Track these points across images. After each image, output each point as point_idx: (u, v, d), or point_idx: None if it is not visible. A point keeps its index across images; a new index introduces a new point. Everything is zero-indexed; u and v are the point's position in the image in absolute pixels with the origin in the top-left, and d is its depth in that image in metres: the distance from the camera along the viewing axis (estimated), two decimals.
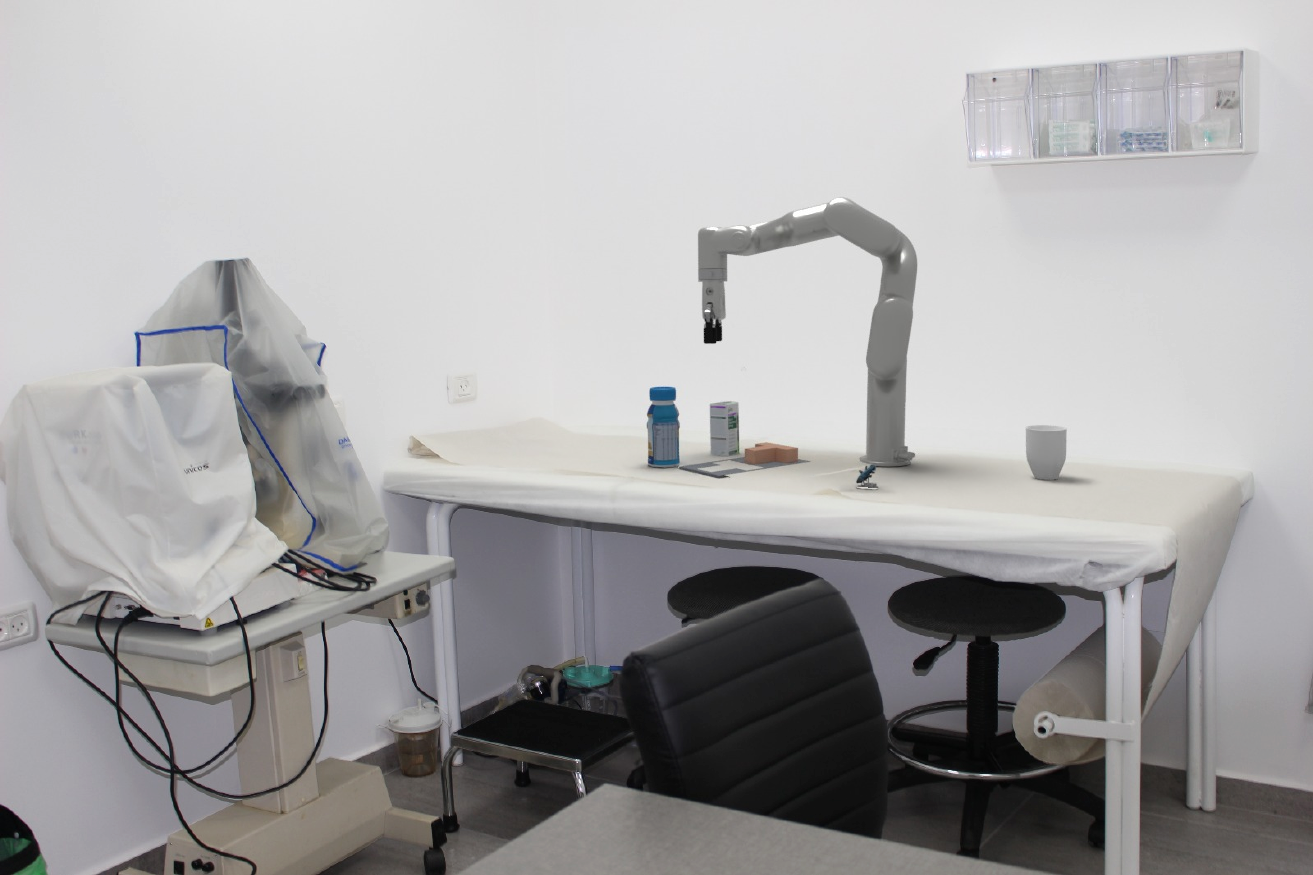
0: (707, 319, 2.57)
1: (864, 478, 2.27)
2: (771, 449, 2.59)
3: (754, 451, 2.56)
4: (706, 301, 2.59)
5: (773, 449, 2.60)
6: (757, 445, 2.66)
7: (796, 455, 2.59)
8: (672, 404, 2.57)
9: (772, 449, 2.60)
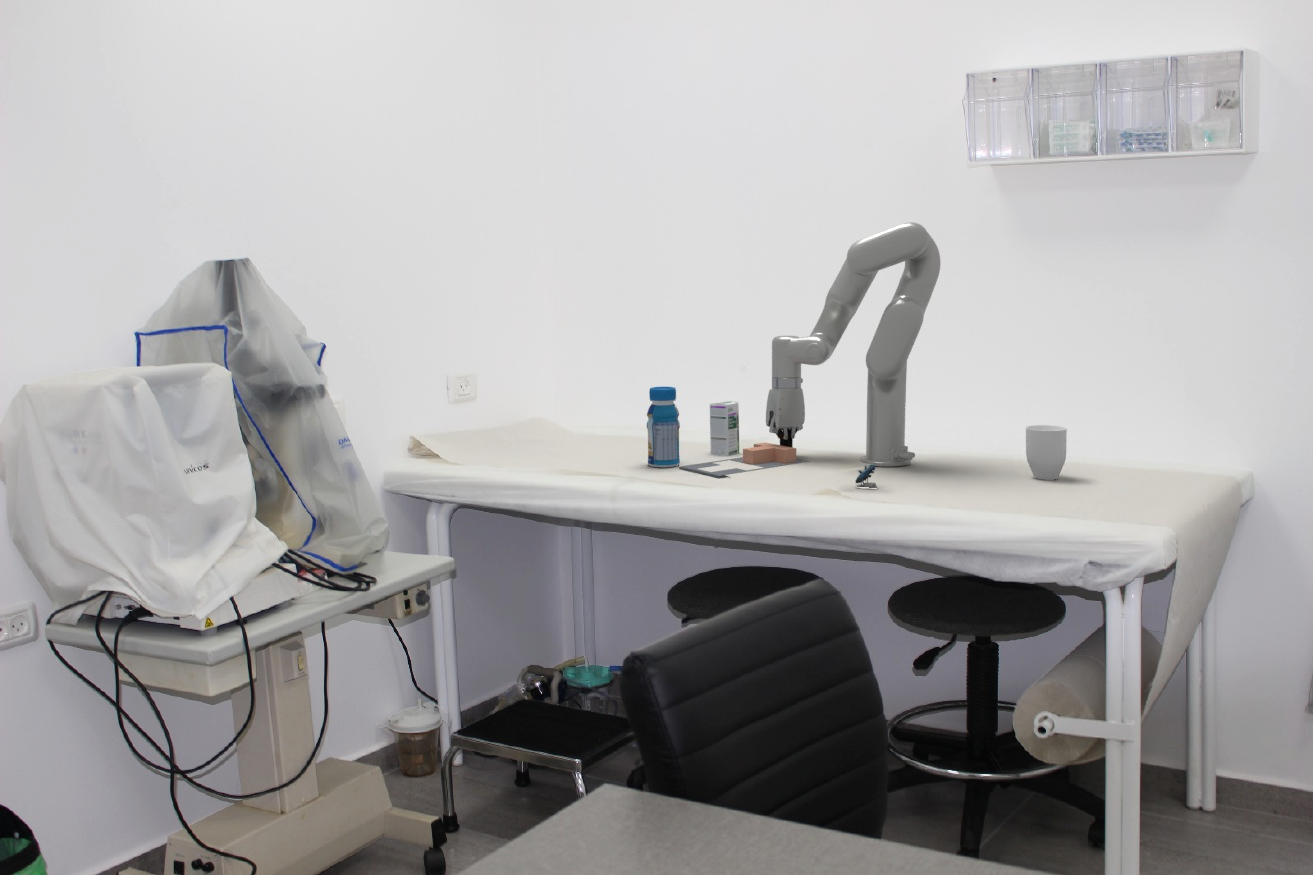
0: None
1: (863, 477, 2.28)
2: (769, 449, 2.59)
3: (752, 451, 2.56)
4: None
5: (771, 449, 2.59)
6: (756, 445, 2.66)
7: (794, 455, 2.59)
8: (672, 404, 2.57)
9: (770, 449, 2.59)
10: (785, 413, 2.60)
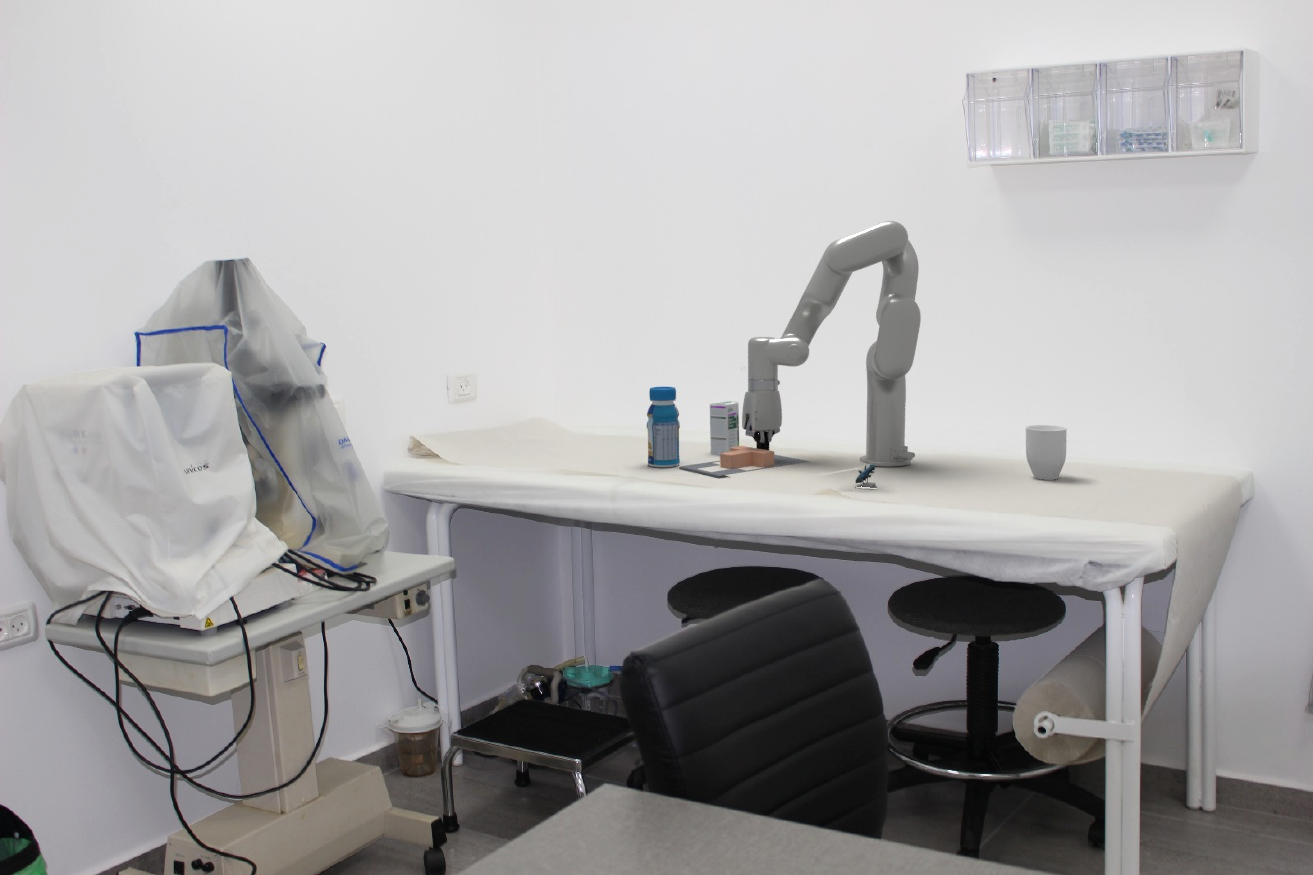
0: None
1: (863, 477, 2.28)
2: (747, 453, 2.54)
3: (730, 456, 2.51)
4: None
5: (749, 453, 2.54)
6: (732, 449, 2.60)
7: (772, 459, 2.54)
8: (672, 404, 2.57)
9: (748, 453, 2.54)
10: (761, 416, 2.56)
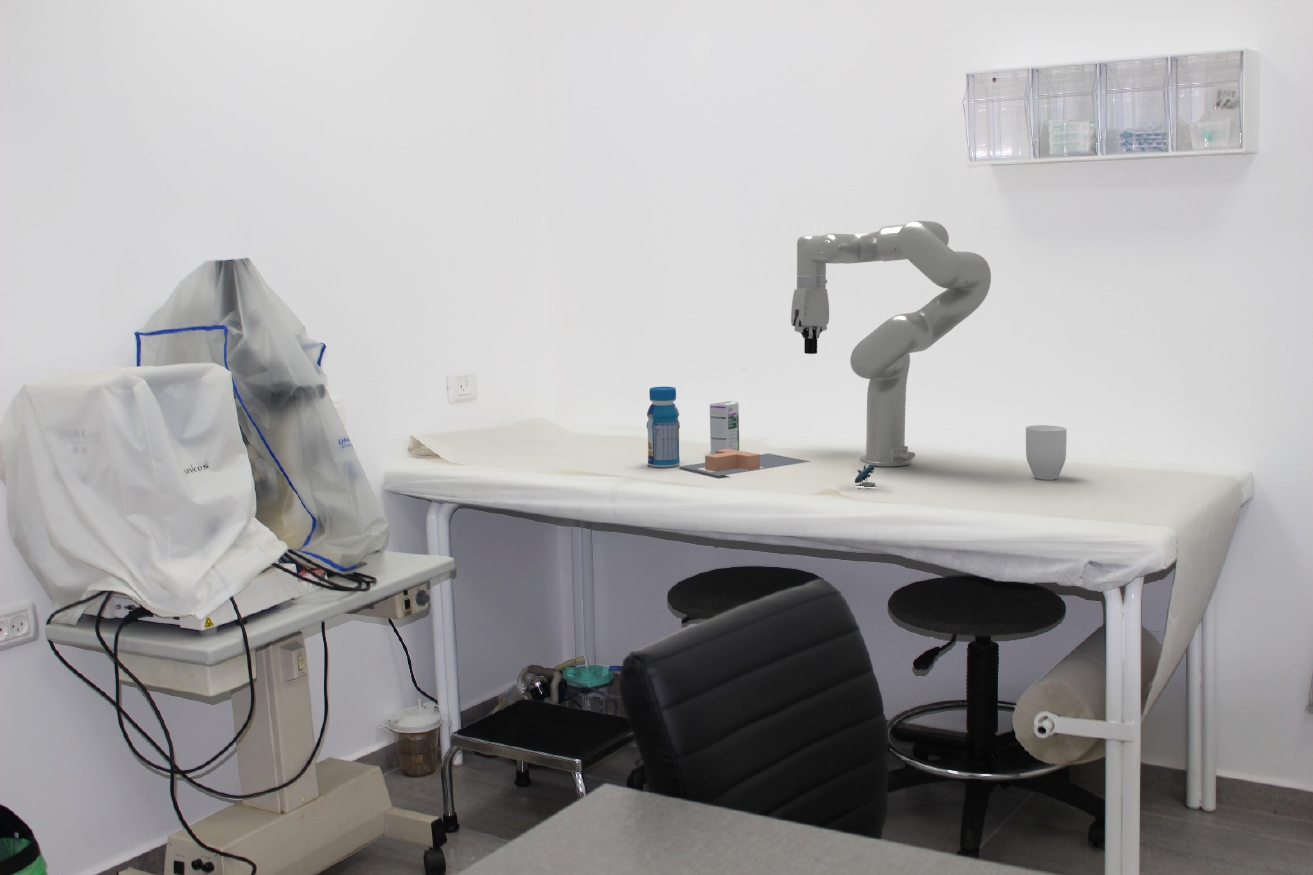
0: None
1: (862, 477, 2.28)
2: (732, 456, 2.51)
3: (715, 458, 2.48)
4: None
5: (734, 456, 2.52)
6: (718, 452, 2.58)
7: (758, 462, 2.51)
8: (672, 404, 2.57)
9: (733, 456, 2.51)
10: (810, 312, 2.65)
